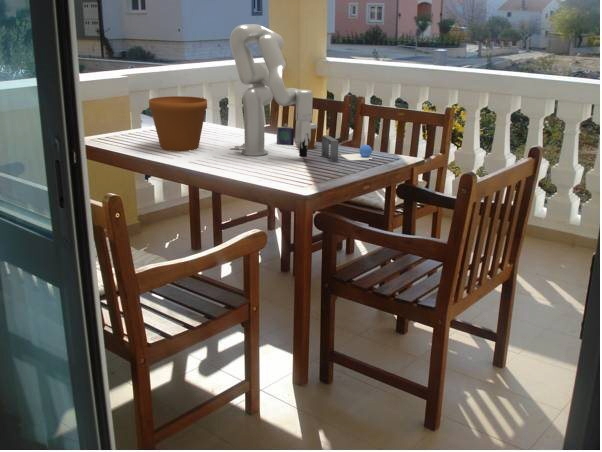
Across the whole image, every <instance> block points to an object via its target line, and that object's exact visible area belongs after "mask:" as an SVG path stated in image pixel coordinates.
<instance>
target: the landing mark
mask: <svg viewBox="0 0 602 452" xmlns="http://www.w3.org/2000/svg"><path fill="white" fill-rule="evenodd" d="M339 156H340V157H342V158H344V159H346V160H347V161H349V162H350V161H353V162H354V161H370V160H369V159H372V158H373V157H372V156H371V155H370V156H369V157H362V156H361V155H360V153H347V154H339Z"/></svg>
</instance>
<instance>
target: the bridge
mask: <svg viewBox="0 0 602 452" xmlns="http://www.w3.org/2000/svg"><path fill="white" fill-rule="evenodd" d="M329 150H330V151H329ZM320 151H321V156H322V157H330V158H329V159H330V160H329V161H330V162H331V163H338V161H339V140H338V139H335V138H334V137H332V136H330V135H328V134H324V135H321V150H320Z"/></svg>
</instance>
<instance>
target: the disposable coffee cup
mask: <svg viewBox="0 0 602 452" xmlns="http://www.w3.org/2000/svg"><path fill="white" fill-rule="evenodd" d="M310 123H311V141H310V142H309V143H308V146H307V149H314V148H315V143H316V135H317V129H318V125H317V123H316V122H310Z"/></svg>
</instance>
